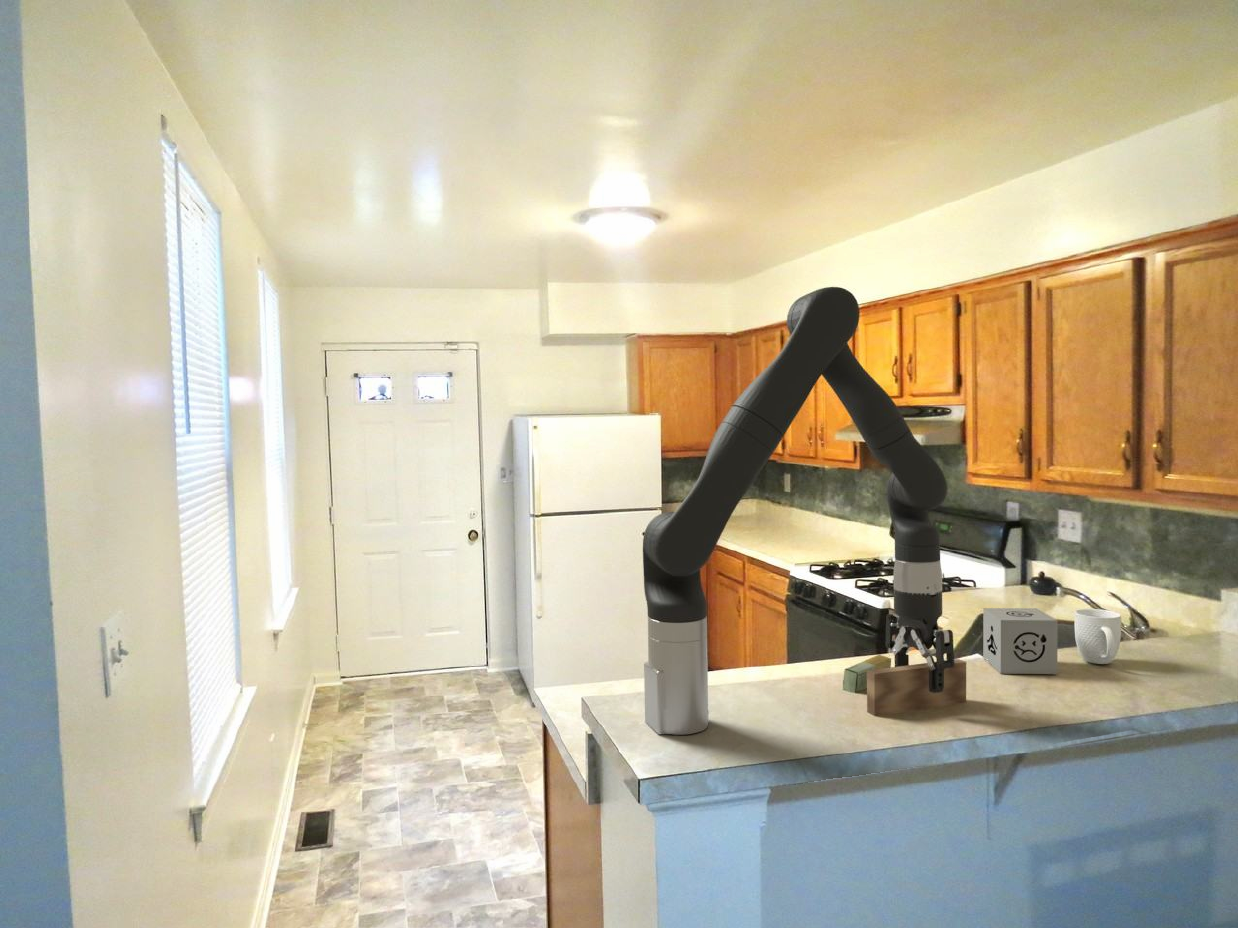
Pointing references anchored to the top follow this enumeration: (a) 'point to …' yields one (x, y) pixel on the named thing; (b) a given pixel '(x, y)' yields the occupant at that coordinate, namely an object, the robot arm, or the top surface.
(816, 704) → the top surface
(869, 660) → the medication box
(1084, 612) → the mug
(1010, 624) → the icon cube
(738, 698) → the top surface
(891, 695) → the walnut screen
